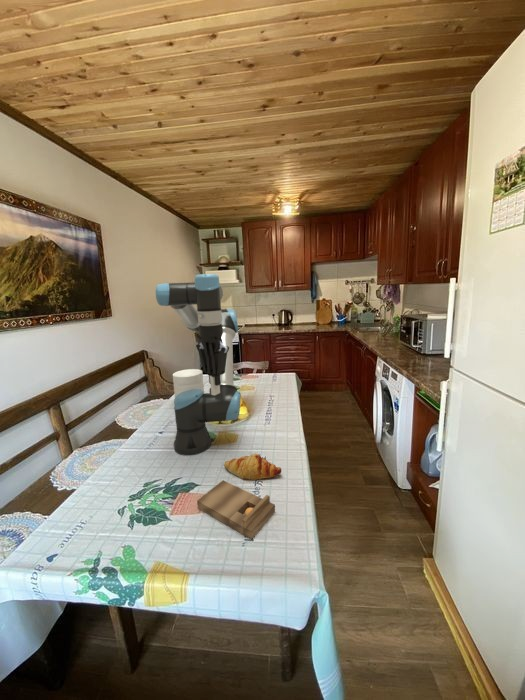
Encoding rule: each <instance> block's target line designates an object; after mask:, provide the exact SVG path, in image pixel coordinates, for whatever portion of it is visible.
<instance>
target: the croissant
mask: <svg viewBox="0 0 525 700" xmlns="http://www.w3.org/2000/svg"><path fill="white" fill-rule="evenodd" d="M266 458H267V457H265V458H264V457H261V455H260V454H258V453H252V454H250V455H244V456H241V457H238V458H232V459H230V460H227V461H225V462H224V463H223V465H224V468H225V469H227V471H229V472H230V473H231V474H233V475H235V477H239V478H241V479H242V480H245V479H248V480H252V481H253V480H256V481H257V480H262V479H269V478H273V477H276V476H278V475H280V474H281V473H282V467H280V466H279V467H278V466H276V464H274V463H271V462H270V461H268V460H267V459H266Z"/></svg>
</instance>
